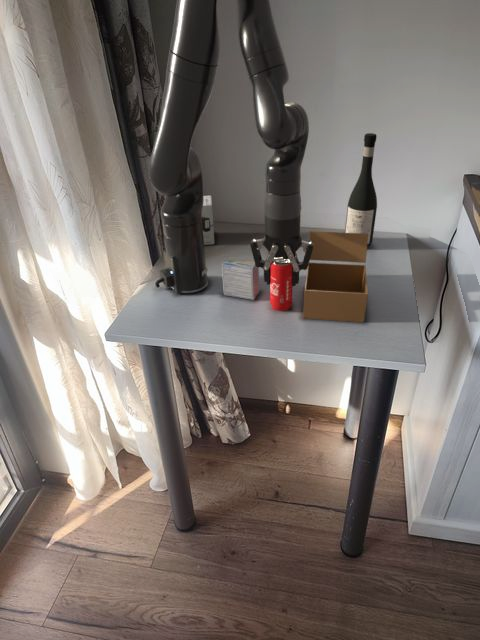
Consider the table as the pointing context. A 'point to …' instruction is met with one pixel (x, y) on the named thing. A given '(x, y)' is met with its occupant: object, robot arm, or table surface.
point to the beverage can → (281, 284)
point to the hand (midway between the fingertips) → (281, 283)
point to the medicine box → (240, 278)
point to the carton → (335, 292)
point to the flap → (339, 246)
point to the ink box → (207, 221)
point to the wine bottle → (363, 195)
